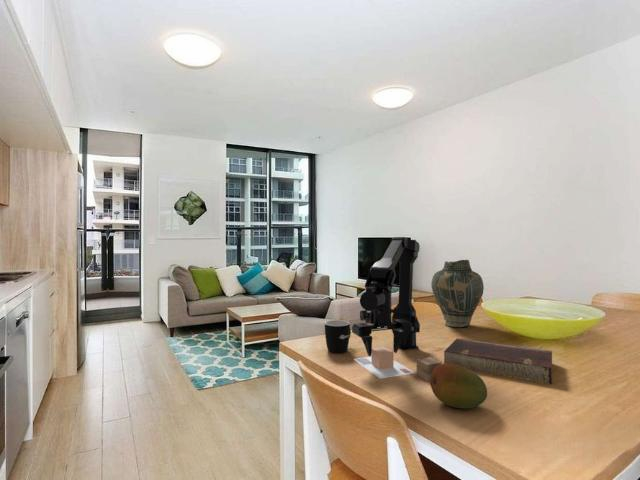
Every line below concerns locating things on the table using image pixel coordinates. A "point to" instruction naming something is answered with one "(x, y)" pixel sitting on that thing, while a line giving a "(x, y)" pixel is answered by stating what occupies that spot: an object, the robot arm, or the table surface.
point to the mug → (337, 335)
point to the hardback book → (501, 359)
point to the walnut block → (426, 367)
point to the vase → (457, 292)
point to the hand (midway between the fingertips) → (382, 354)
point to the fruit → (457, 386)
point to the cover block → (382, 358)
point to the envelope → (383, 373)
